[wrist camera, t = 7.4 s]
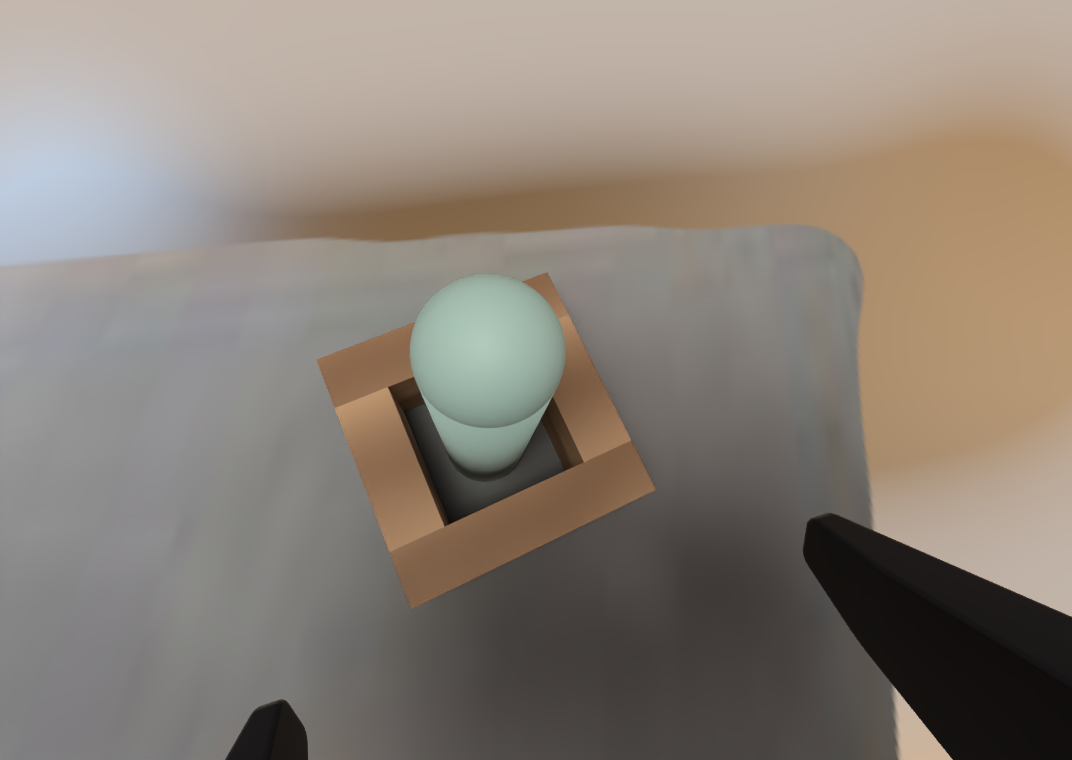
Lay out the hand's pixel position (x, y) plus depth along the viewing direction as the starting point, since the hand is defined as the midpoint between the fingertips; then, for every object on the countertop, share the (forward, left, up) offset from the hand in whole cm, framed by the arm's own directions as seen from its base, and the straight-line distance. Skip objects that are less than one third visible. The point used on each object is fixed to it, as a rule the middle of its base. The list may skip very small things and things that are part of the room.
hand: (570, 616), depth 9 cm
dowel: (+5, -1, -13) cm, 14 cm away
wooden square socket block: (+5, -1, -13) cm, 14 cm away
